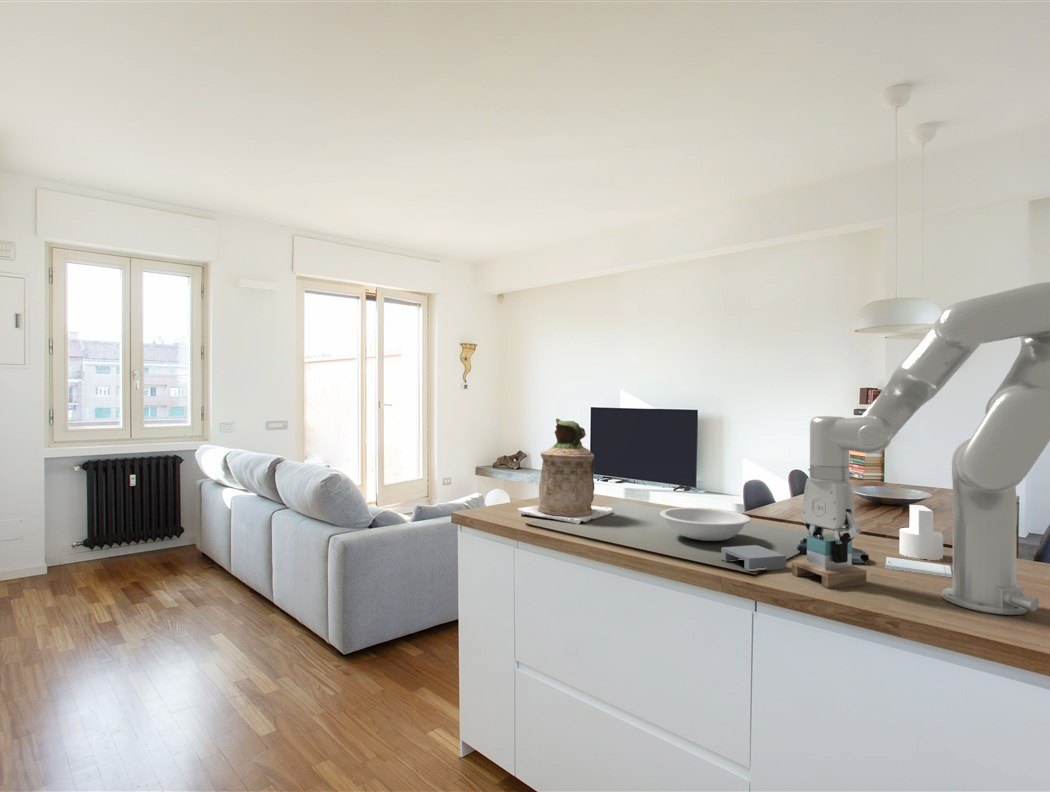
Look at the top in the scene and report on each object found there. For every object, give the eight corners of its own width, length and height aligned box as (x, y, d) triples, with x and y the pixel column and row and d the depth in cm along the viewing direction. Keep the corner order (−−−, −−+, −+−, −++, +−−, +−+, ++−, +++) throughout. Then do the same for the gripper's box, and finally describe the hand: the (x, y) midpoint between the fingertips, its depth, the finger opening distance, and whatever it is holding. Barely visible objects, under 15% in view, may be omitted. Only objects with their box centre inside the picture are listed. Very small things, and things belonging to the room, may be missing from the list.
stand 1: (786, 568, 132) (786, 555, 132) (749, 572, 129) (749, 558, 129) (756, 557, 141) (756, 545, 141) (721, 560, 138) (721, 547, 138)
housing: (825, 570, 120) (825, 538, 120) (806, 563, 125) (807, 533, 125) (851, 567, 122) (851, 536, 123) (832, 561, 127) (832, 531, 127)
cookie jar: (582, 525, 176) (583, 420, 176) (514, 515, 189) (516, 418, 189) (615, 513, 196) (616, 418, 197) (552, 505, 210) (553, 417, 210)
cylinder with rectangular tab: (895, 549, 151) (895, 503, 151) (936, 553, 147) (936, 506, 148) (904, 558, 142) (904, 509, 142) (948, 562, 139) (948, 512, 139)
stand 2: (866, 584, 121) (866, 570, 121) (827, 588, 118) (828, 573, 118) (828, 571, 130) (828, 557, 130) (791, 574, 127) (791, 560, 127)
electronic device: (795, 561, 145) (860, 565, 134) (794, 538, 146) (858, 541, 135) (811, 559, 151) (875, 564, 140) (809, 537, 152) (872, 540, 141)
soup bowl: (741, 531, 170) (741, 509, 170) (759, 552, 146) (760, 526, 146) (657, 527, 174) (657, 505, 174) (662, 547, 150) (662, 521, 150)
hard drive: (885, 564, 133) (952, 573, 126) (886, 556, 140) (949, 564, 133) (885, 571, 133) (952, 580, 126) (886, 563, 140) (949, 571, 133)
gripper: (785, 469, 131) (785, 549, 131) (848, 479, 115) (848, 571, 115) (812, 469, 133) (812, 547, 133) (877, 478, 117) (877, 568, 117)
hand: (828, 557), depth 124 cm, fingers open, 5 cm apart
